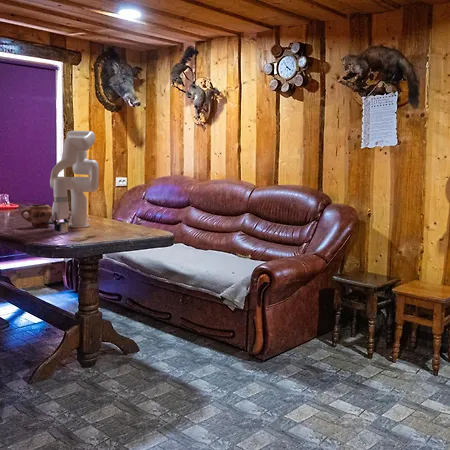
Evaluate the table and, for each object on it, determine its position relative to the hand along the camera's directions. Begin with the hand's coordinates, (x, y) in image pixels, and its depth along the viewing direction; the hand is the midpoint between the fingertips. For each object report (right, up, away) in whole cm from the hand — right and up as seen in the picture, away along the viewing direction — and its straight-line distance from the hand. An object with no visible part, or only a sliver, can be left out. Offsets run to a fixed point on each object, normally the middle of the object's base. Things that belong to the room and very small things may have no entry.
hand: (61, 229), depth 302 cm
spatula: (+17, -5, -14) cm, 23 cm away
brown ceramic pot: (-22, +1, +23) cm, 32 cm away
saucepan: (-4, -1, +1) cm, 4 cm away
